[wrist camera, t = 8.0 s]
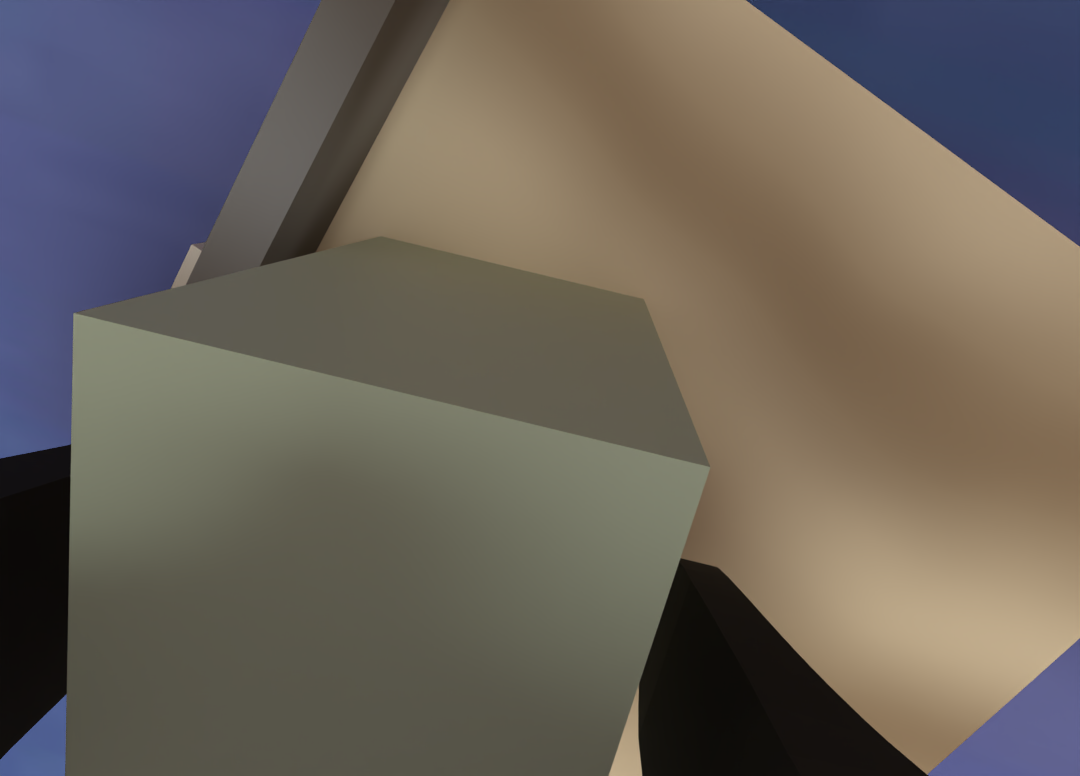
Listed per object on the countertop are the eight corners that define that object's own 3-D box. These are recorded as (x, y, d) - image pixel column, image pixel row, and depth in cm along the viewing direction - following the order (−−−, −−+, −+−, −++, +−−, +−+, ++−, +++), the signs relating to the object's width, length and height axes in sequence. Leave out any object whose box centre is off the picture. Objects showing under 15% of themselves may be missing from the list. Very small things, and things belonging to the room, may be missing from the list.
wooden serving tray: (484, -155, 11) (434, -303, 8) (1236, 396, 12) (1470, 474, 9) (100, 593, 16) (-34, 703, 12) (676, 924, 17) (696, 1101, 14)
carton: (644, 298, 11) (710, 467, 5) (538, 684, 14) (481, 1160, 7) (366, 232, 11) (39, 303, 5) (309, 628, 14) (38, 1048, 7)
